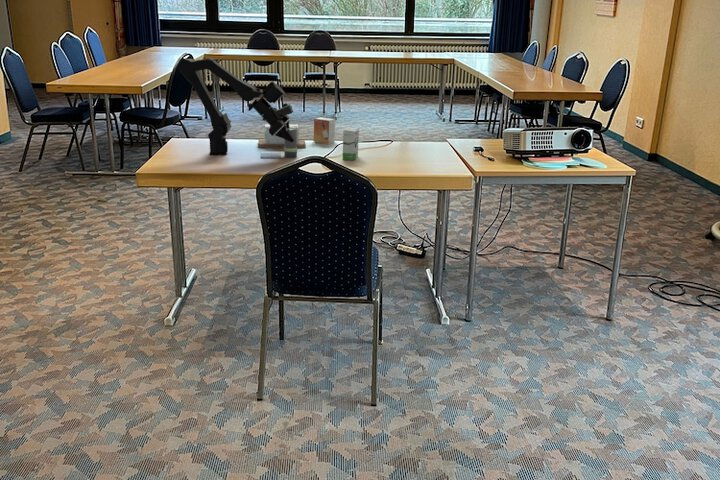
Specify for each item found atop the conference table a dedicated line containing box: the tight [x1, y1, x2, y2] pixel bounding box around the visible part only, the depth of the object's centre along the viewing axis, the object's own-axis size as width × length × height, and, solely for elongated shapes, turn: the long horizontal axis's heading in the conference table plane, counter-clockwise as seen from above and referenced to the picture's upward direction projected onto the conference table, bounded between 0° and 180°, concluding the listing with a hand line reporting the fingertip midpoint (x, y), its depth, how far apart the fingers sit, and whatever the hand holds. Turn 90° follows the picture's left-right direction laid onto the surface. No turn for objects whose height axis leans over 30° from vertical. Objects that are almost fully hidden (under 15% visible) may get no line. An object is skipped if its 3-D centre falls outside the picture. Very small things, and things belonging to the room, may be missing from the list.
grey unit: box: [257, 123, 307, 149], centre depth 298 cm, size 20×10×8 cm, turn 98°
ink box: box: [342, 126, 360, 161], centre depth 278 cm, size 9×5×12 cm, turn 168°
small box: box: [313, 116, 336, 145], centre depth 307 cm, size 8×6×10 cm
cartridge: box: [283, 128, 298, 159], centre depth 277 cm, size 5×5×11 cm
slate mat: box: [260, 152, 282, 159], centre depth 278 cm, size 8×7×1 cm
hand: (294, 140), depth 277 cm, fingers closed on cartridge, 5 cm apart
